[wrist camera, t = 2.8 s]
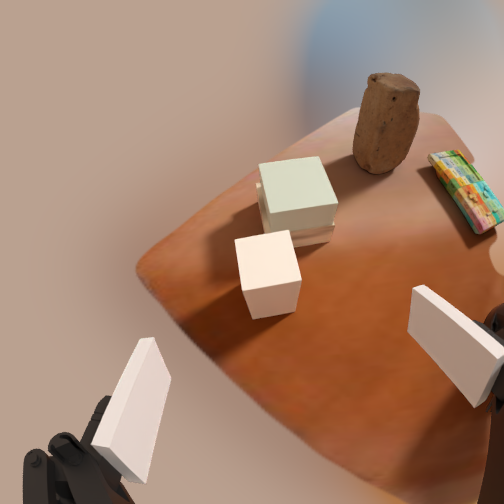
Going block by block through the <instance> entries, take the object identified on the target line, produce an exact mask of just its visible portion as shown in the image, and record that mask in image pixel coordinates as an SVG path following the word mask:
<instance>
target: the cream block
mask: <svg viewBox="0 0 504 504" xmlns="http://www.w3.org/2000/svg"><path fill="white" fill-rule="evenodd" d="M235 246H236V253H237V259H238V266H239V273H240V280H241V286H242V292H243V294H244V297H245V300H246V303H247V305H248V308H249V311H250V314H251V316H252V319H258V318H264V317H270V316H275V315H280V314H285V313H291V312H295V309H296V304H297V300H298V295H299V291H300V286H301V281H302V279H301V275H300V271H299V267H298V263H297V259H296V255H295V251H294V247H293V244H292V240H291V236H290V232H289V230H285V231H279V232H273V233H268V234H262V235H256V236H251V237H245V238H240V239H235Z"/></svg>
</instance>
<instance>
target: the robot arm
mask: <svg viewBox="0 0 504 504" xmlns="http://www.w3.org/2000/svg"><path fill="white" fill-rule="evenodd" d="M407 332H408V333H409V334H410V335H411V336H412V337H413V338H414V339H415V340H416V341H417V342H418V343H419V345H420V346H421V347H422V348H423V349H424V350H425V351H426V352H427V353H428V354H429V356H430V357H431V358H432V359H433V360H434V361H435V362H436V363H437V364H438V366H439V367H440V368H441V369H442V370H443V371H444V372H445V374H446V375H447V376H448V377H449V378H450V379H451V381H452V382H453V383H454V384H455V385H456V387H457V388H458V389H459V390H460V391H461V392H462V394H463V395H464V396H465V397H466V399H467V400H468V401H469V402H470V403H471V405H472V406H473V407H474V408H475V407H477V406H478V405H480V404H481V403H483V402H484V401H486V399H487V397H488V395H489V393H490V391H492V392H493V393H494V395H493V397H492V399H491V401H490V403H489V405H488V406H487V408H486V412H488V410H489V409H490V407H491V405H492V409H491V411H490V412H491V429H490V439H489V448H488V455H487V462H486V467H485V473H484V478H483V482H482V487H481V491H480V495H479V498H478V502H477V504H504V303H502V304H501V305H499V306H497V307H495V308H494V309H493V310H492V311H491V312H490V313H489V315H488V316H487V318H486V320H485V323H484V324H483V323H480V322H478V321H475V320H470V319H469V318H468V317H466V316H465V315H464V314H463V313H461V312H460V311H459V310H457V309H456V308H455V307H453V306H452V305H451V304H449V303H448V302H447V301H445V300H444V299H443V298H441V297H440V296H439V295H437V294H436V293H435V292H433V291H432V290H430V289H429V288H428V287H426V286H425V285H420V286H417V287H414V288H412V299H411V308H410V317H409V324H408V331H407ZM170 382H171V376H170V374H169V372H168V370H167V368H166V365H165V363H164V360H163V358H162V356H161V353H160V351H159V349H158V346H157V344H156V341H155V339H154V337H151V338H141V339H140V340H139V342H138V344H137V346H136V348H135V350H134V352H133V354H132V356H131V358H130V360H129V362H128V364H127V366H126V368H125V370H124V372H123V374H122V376H121V378H120V380H119V382H118V384H117V387H116V389H115V391H114V393H113V395H112V396H105V397H104V398H103V399H102V400H101V401H100V402H99V403H98V405H97V407H96V409H95V411H94V414H93V415H92V417H91V421H89V423H88V426H87V428H86V430H85V432H84V435H83V437H82V439H81V441H80V442H79V441H78V440H77V439H76V438H75V437H74V436H73V435H72V434H70V433H67V432H62V433H58V434H57V435H55V436H54V437H53V438H52V439H51V440H50V442H49V445H48V451H49V452H50V453H51V454H52V455H53V456H48V455H47V454H46V453H45V452H44V451H42V450H41V449H33V450H31V451H30V452H28V453H27V454H26V456H25V458H24V466H23V504H135V503H134V501H133V500H132V498H131V497H130V495H129V494H128V492H127V490H126V489H125V487H124V485H123V484H122V483H121V482H120V480H121V476H123V477H124V478H126V479H127V480H128V481H129V482H134V483H141V484H146V482H147V477H148V473H149V468H150V463H151V459H152V454H153V450H154V445H155V442H156V437H157V433H158V429H159V424H160V421H161V417H162V413H163V409H164V405H165V401H166V397H167V393H168V390H169V386H170Z"/></svg>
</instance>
